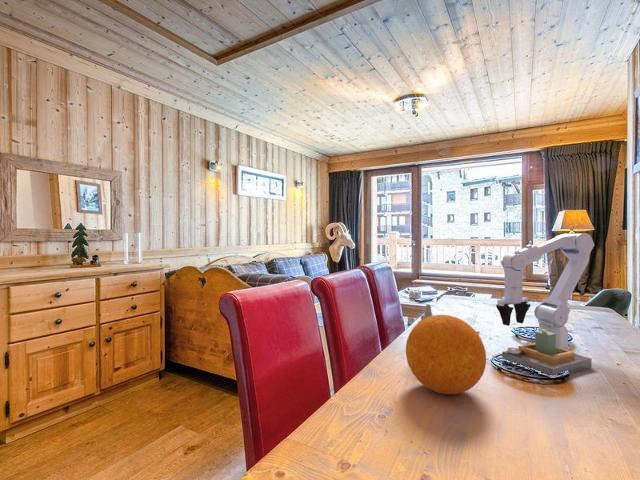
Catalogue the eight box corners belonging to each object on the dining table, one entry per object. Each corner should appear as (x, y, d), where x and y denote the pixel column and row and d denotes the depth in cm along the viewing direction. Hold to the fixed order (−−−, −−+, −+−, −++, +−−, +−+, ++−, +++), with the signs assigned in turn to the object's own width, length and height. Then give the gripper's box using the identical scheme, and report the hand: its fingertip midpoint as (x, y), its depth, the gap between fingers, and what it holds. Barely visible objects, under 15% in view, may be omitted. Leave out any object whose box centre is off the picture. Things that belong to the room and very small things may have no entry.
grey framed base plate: (539, 352, 121) (539, 338, 121) (591, 368, 106) (591, 352, 106) (502, 360, 112) (502, 345, 112) (552, 379, 98) (553, 362, 98)
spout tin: (542, 351, 112) (542, 327, 112) (555, 355, 108) (555, 330, 108) (535, 353, 110) (535, 328, 110) (548, 357, 107) (548, 332, 107)
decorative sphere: (502, 396, 87) (502, 318, 87) (452, 418, 77) (453, 329, 76) (437, 370, 104) (438, 305, 104) (390, 385, 93) (390, 312, 93)
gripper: (515, 284, 130) (515, 319, 130) (490, 286, 124) (489, 323, 124) (534, 286, 124) (533, 323, 124) (507, 289, 118) (507, 328, 118)
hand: (513, 323), depth 123 cm, fingers open, 7 cm apart
